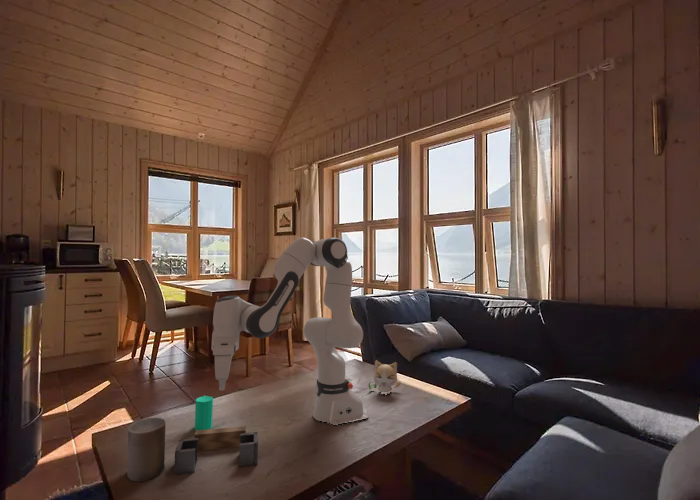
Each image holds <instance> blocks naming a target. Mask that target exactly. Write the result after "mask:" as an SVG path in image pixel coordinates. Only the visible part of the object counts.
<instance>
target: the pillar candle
mask: <svg viewBox="0 0 700 500" xmlns="http://www.w3.org/2000/svg"><path fill="white" fill-rule="evenodd" d="M127 430H128V433H127V473H126V476H127V478H128V479H129V481H133V482H143V481H149V480H151V479H154V478H155V477H157V476H159V475H160V474H161V473H163V472H164V470H165V469H166V468H165V467H166V466H165V460H166V458H165V457H166V456H165V455H166V450H165V449H166V447H165V446H166V420H165V419H163V418H161V417H149V418H144V419H141V420H140V419H139V420H138V421H135V422H133V423H132V424H130V425H129V426H128V428H127Z"/></svg>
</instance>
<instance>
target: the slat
mask: <svg viewBox="0 0 700 500" xmlns="http://www.w3.org/2000/svg"><path fill="white" fill-rule="evenodd" d="M243 433H247V426H246V425H245V426H233V427H231V426H230V427H219V428H211V429H207V430H195V432H194V438H198V452H199V451H209V450H220V449H229V448H240V434H243Z"/></svg>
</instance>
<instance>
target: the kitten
mask: <svg viewBox="0 0 700 500" xmlns="http://www.w3.org/2000/svg"><path fill="white" fill-rule="evenodd" d="M397 373H398V362H396V361H395V362H392V363H391V364H385V363H381V362H380V361H378V360H377V359H376V360H375V361H374V374H373V380H374V383H375V384H374V386H373V387H374V388H377V387H378V388H377V391H378V390H379V391H380V392H389V391H391V390H392V388H396V389H397V388H399V387H400V386H401V385H402V384H401V381H399V380H398V375H397ZM377 385H379V386H377ZM368 388H369V390H370V389H372V386H371V382H369V383H368ZM379 391H378V392H379ZM392 391H393V390H392Z"/></svg>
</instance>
